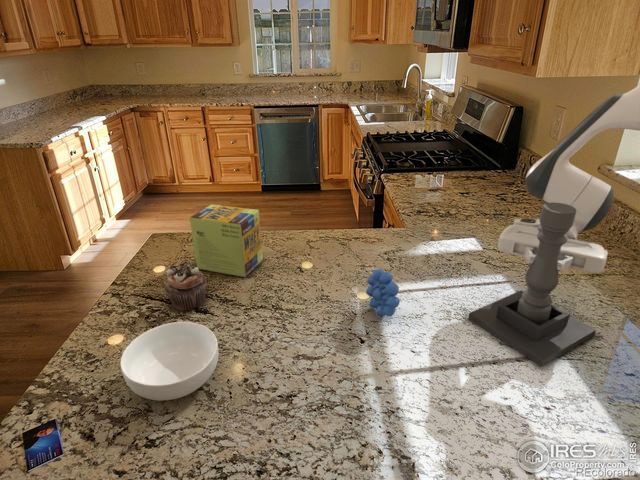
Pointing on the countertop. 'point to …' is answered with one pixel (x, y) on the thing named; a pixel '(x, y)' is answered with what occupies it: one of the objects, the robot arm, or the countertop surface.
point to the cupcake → (185, 287)
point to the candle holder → (546, 262)
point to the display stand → (532, 329)
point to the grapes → (383, 293)
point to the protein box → (227, 239)
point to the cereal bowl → (170, 360)
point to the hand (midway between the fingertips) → (544, 264)
